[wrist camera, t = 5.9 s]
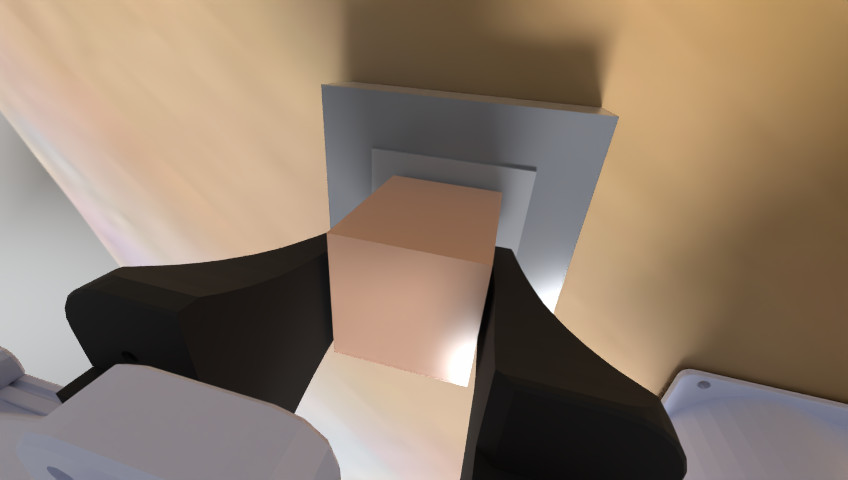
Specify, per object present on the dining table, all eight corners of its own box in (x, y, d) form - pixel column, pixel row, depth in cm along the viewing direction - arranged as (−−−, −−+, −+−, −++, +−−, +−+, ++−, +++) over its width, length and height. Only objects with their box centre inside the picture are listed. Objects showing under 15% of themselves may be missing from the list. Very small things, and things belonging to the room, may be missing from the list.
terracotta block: (502, 192, 12) (492, 265, 7) (483, 285, 14) (466, 386, 9) (393, 175, 12) (326, 232, 8) (390, 266, 14) (334, 351, 10)
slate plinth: (601, 107, 12) (620, 117, 10) (537, 315, 17) (540, 353, 15) (351, 81, 14) (319, 84, 12) (356, 275, 19) (333, 304, 17)
